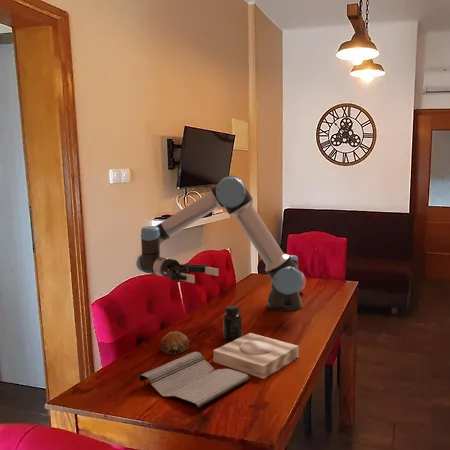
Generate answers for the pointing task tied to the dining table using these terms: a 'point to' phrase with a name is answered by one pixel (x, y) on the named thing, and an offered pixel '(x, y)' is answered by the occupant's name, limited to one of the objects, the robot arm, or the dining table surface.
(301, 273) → the mortar and pestle
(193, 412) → the dining table surface
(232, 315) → the supplement bottle
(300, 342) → the dining table surface
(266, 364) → the stand
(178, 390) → the mat
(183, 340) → the bread roll
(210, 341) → the dining table surface
